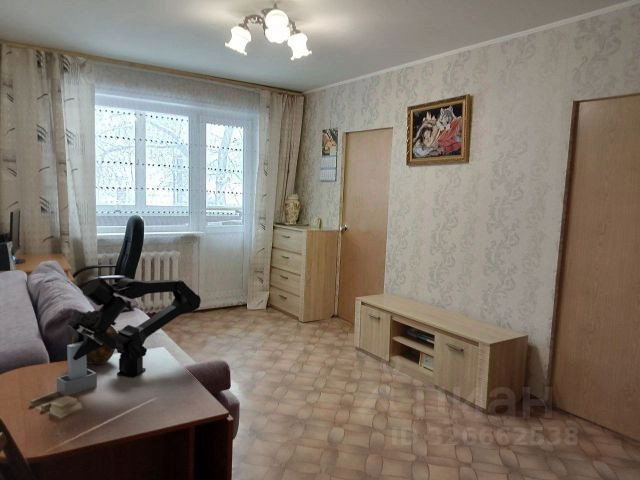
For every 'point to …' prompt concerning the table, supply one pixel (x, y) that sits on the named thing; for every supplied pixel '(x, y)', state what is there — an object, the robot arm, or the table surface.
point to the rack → (56, 405)
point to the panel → (76, 362)
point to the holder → (76, 383)
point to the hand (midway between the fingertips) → (72, 358)
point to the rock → (100, 350)
